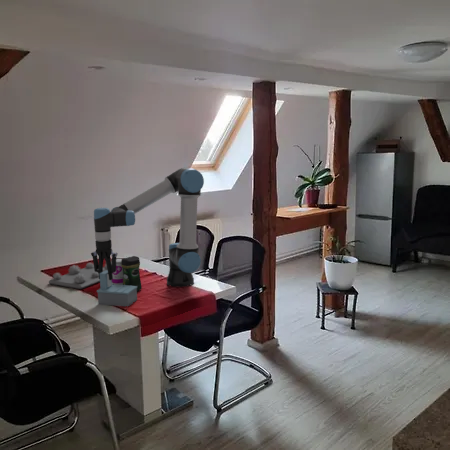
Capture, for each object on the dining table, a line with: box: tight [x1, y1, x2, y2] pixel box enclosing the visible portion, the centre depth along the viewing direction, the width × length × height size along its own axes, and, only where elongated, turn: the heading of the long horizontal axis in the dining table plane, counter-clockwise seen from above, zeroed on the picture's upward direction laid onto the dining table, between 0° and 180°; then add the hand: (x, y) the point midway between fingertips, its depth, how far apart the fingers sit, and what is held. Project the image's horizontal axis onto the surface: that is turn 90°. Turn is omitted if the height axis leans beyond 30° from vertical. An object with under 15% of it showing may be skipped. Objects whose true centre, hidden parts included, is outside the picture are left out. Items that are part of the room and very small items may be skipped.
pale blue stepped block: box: [96, 270, 137, 295], centre depth 223 cm, size 17×11×9 cm, turn 76°
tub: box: [97, 288, 138, 307], centre depth 224 cm, size 16×10×6 cm, turn 76°
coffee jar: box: [121, 255, 143, 292], centre depth 240 cm, size 10×8×19 cm
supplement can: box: [111, 258, 123, 285], centre depth 248 cm, size 8×8×15 cm
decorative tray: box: [48, 262, 107, 290], centre depth 263 cm, size 35×26×10 cm
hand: (106, 285), depth 224 cm, fingers closed on pale blue stepped block, 3 cm apart
